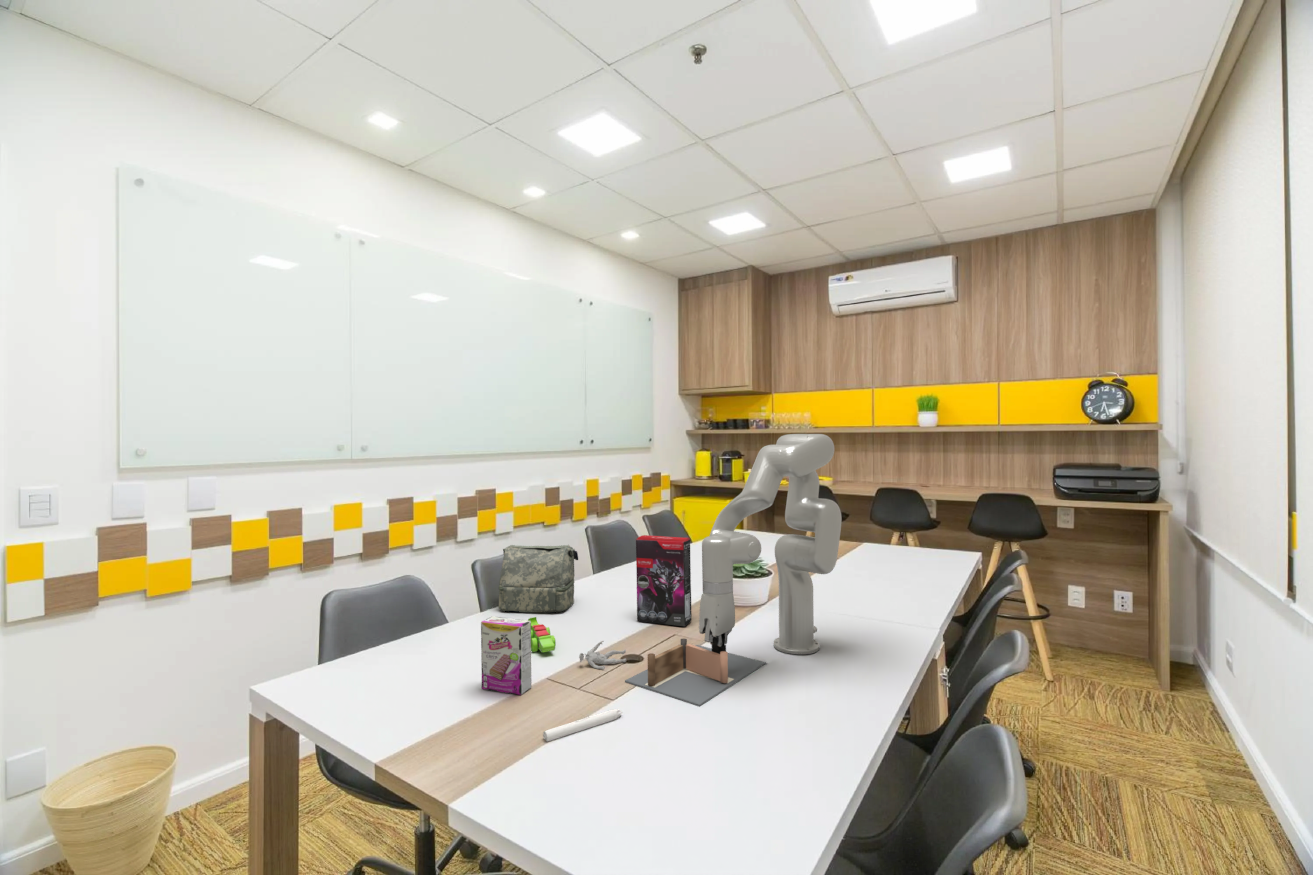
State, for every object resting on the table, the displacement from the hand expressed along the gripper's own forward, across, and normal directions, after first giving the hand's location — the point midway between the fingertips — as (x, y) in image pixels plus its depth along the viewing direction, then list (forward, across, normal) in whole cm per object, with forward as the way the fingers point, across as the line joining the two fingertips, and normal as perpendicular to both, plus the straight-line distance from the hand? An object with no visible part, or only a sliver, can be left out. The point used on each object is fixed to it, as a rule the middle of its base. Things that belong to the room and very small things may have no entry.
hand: (719, 660), depth 150 cm
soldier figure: (+4, +11, -29) cm, 31 cm away
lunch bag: (+4, -13, -84) cm, 85 cm away
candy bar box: (+4, +37, -36) cm, 52 cm away
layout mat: (+4, +1, -6) cm, 7 cm away
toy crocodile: (+4, +12, -53) cm, 55 cm away
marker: (+4, +39, -8) cm, 40 cm away
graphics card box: (+5, -26, -38) cm, 46 cm away
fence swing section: (+3, +3, -2) cm, 5 cm away
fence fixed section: (+4, +8, -10) cm, 13 cm away
